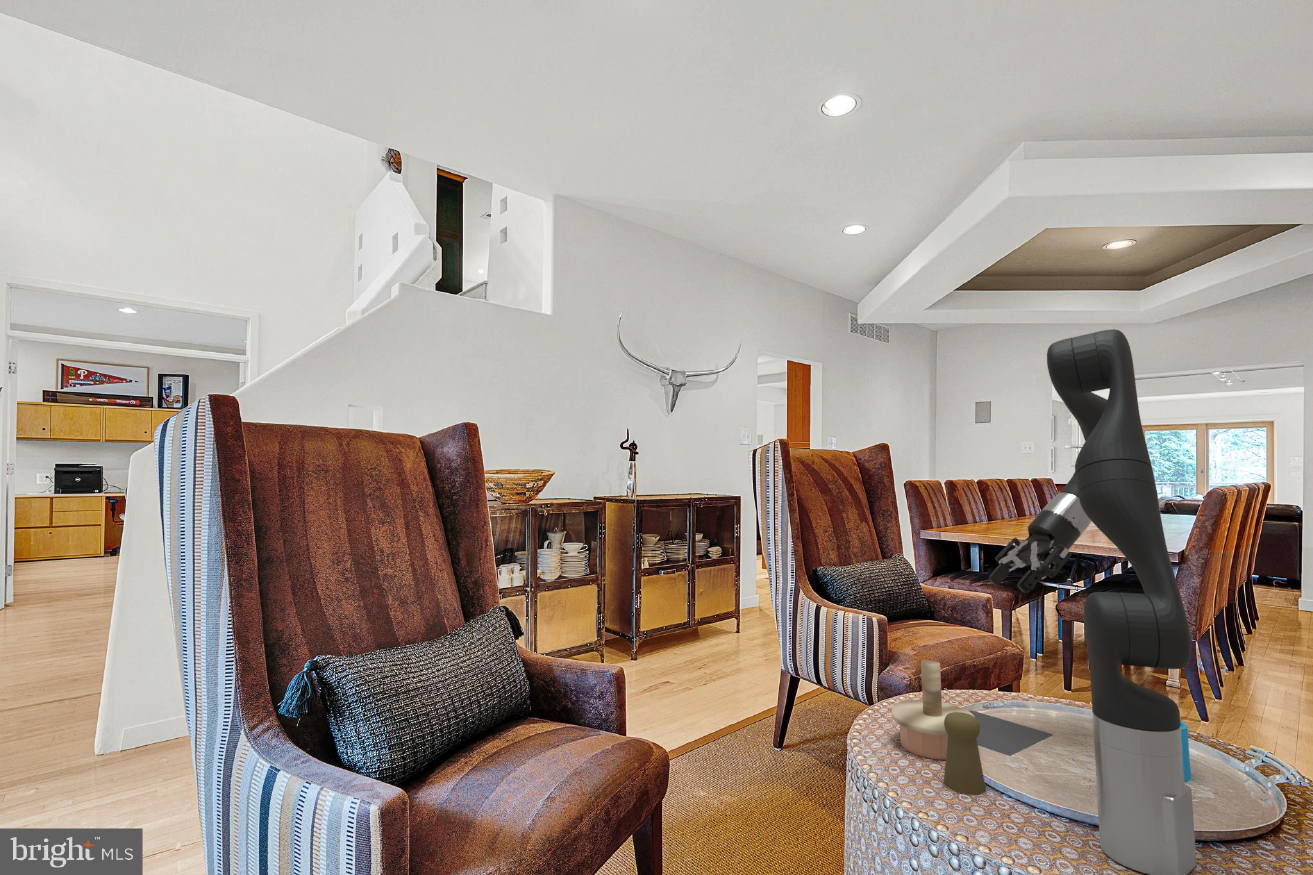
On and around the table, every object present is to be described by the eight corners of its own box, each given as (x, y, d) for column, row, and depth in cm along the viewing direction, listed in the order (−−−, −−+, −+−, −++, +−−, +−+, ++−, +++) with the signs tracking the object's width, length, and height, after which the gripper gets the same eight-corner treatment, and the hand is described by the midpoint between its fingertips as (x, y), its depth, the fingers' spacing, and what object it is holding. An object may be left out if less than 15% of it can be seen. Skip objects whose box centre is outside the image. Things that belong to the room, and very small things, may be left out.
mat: (1053, 736, 121) (1053, 734, 121) (1010, 757, 112) (1009, 755, 112) (971, 712, 134) (971, 710, 134) (926, 729, 125) (926, 727, 125)
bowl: (980, 751, 115) (978, 722, 115) (944, 767, 109) (943, 736, 109) (924, 732, 124) (923, 705, 124) (888, 745, 118) (887, 717, 118)
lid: (991, 723, 115) (988, 664, 115) (946, 741, 107) (944, 679, 108) (920, 701, 126) (918, 648, 127) (875, 717, 118) (873, 660, 119)
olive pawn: (976, 777, 105) (973, 708, 106) (992, 795, 99) (988, 721, 100) (938, 776, 105) (935, 707, 106) (951, 794, 99) (948, 721, 100)
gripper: (1022, 507, 128) (970, 566, 126) (1074, 510, 114) (1016, 577, 112) (1049, 533, 128) (997, 593, 126) (1104, 539, 114) (1047, 607, 112)
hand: (1006, 585), depth 119 cm, fingers open, 8 cm apart
